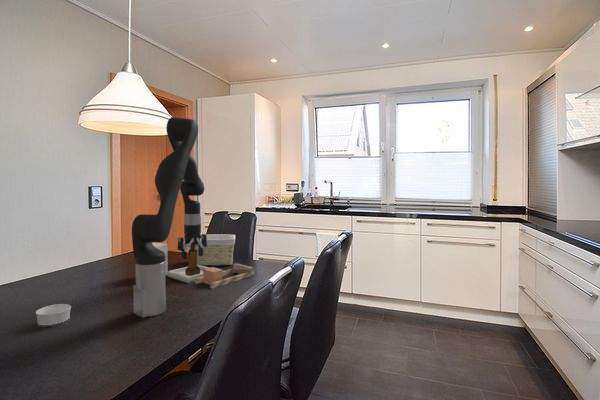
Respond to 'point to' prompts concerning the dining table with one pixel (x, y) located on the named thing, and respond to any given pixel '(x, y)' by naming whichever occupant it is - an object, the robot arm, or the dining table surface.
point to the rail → (237, 268)
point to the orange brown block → (212, 275)
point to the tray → (181, 275)
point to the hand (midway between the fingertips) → (192, 257)
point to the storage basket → (217, 250)
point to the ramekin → (53, 314)
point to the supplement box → (164, 248)
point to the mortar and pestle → (192, 261)
